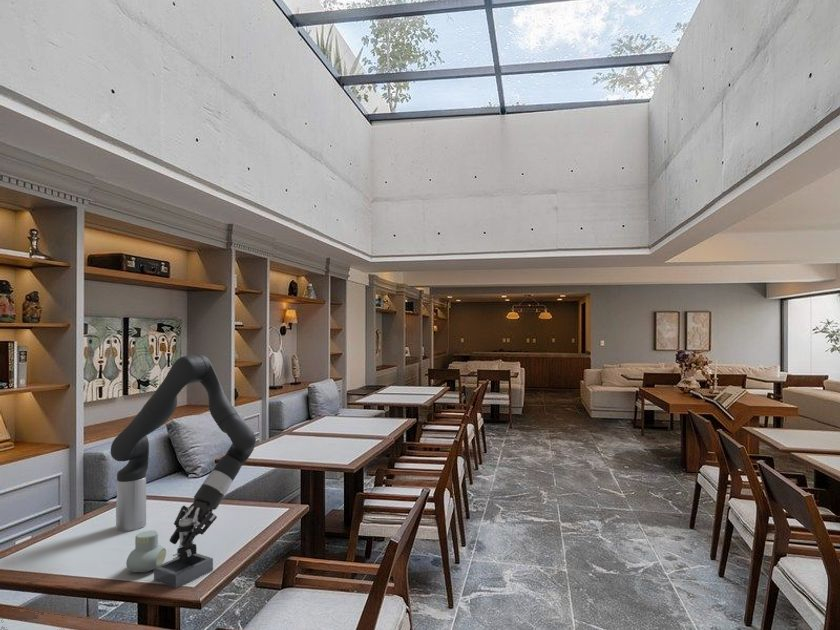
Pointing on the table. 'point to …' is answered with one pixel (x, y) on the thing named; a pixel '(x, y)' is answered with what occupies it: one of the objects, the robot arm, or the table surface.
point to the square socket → (175, 579)
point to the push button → (183, 529)
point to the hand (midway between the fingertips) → (178, 544)
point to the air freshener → (146, 552)
